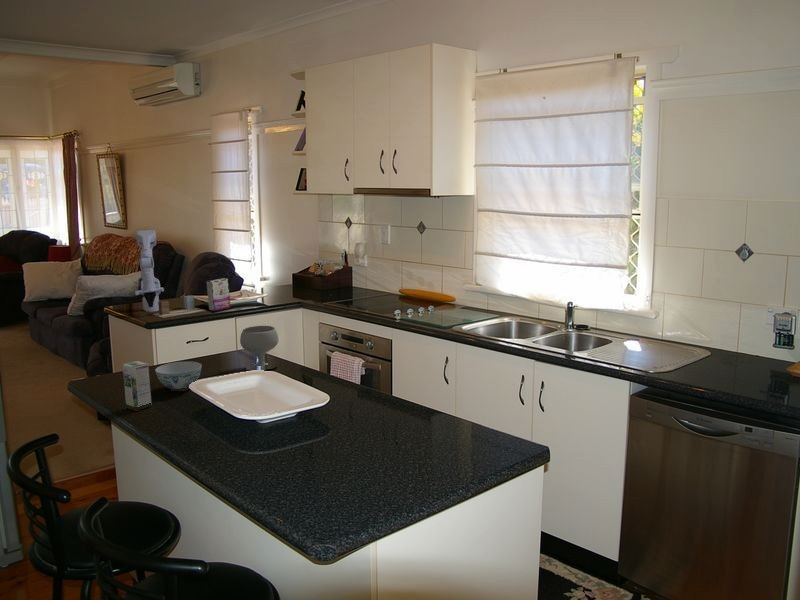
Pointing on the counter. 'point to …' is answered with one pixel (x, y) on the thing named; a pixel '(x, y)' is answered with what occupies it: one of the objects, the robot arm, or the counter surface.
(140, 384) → the syrup box
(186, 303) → the slate blue block
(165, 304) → the walnut block
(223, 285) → the candy bar box
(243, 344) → the chalice
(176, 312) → the birch board
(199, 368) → the chinaware
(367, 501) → the counter surface
